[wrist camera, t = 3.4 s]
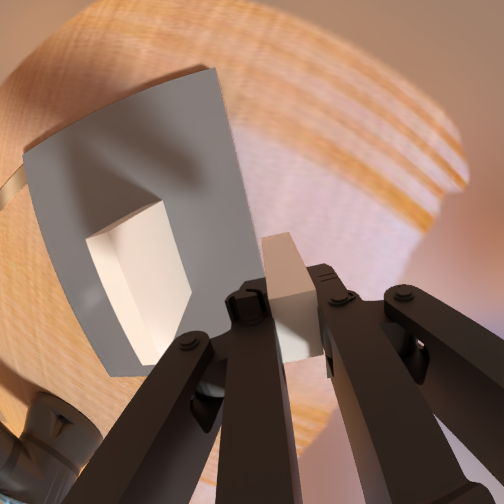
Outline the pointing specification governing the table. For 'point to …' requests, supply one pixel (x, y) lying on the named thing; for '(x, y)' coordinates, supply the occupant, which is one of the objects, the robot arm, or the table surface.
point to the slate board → (143, 193)
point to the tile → (143, 278)
